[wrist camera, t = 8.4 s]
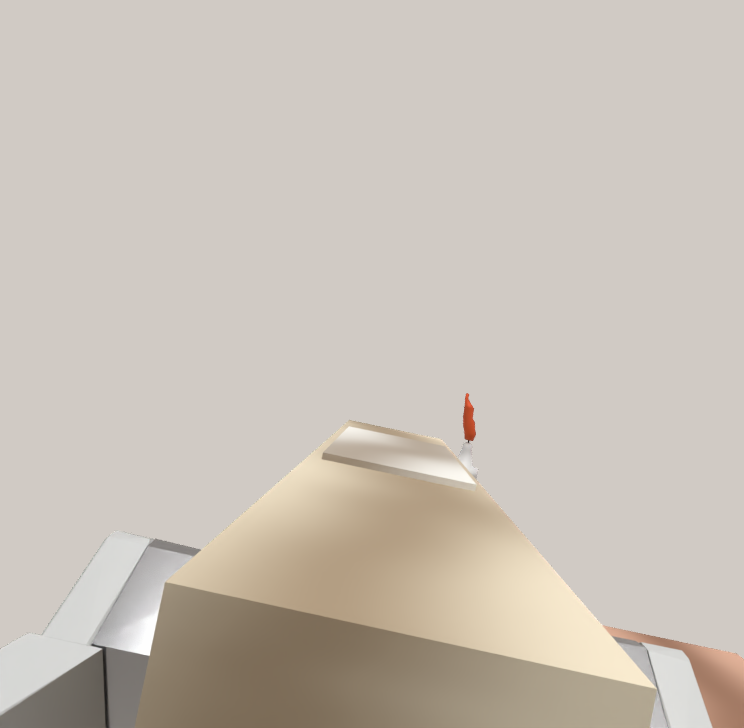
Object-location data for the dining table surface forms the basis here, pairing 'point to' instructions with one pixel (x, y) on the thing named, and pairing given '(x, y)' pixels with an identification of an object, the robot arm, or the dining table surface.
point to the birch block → (381, 609)
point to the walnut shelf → (707, 677)
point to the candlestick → (468, 438)
